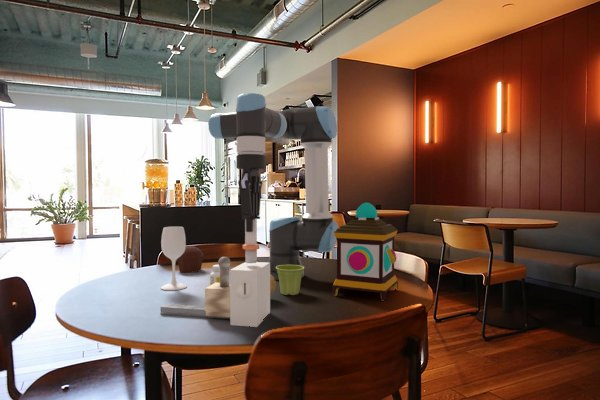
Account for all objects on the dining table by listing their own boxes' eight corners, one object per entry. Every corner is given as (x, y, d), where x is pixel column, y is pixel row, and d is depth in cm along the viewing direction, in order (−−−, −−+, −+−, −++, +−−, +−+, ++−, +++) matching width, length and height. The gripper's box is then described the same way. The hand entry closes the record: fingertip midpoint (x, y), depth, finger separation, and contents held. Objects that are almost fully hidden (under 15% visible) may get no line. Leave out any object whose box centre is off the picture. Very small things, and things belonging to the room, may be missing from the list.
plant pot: (290, 288, 142) (290, 263, 142) (310, 293, 135) (310, 267, 135) (269, 293, 135) (269, 266, 135) (289, 298, 129) (289, 271, 128)
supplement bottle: (230, 294, 134) (230, 264, 133) (222, 298, 129) (221, 267, 128) (215, 293, 135) (215, 263, 135) (207, 297, 130) (206, 266, 130)
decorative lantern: (347, 283, 149) (348, 201, 149) (402, 289, 141) (403, 202, 140) (326, 296, 131) (327, 202, 131) (388, 304, 123) (389, 203, 122)
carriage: (205, 316, 108) (204, 258, 107) (215, 308, 114) (215, 254, 114) (233, 318, 106) (233, 259, 106) (243, 310, 113) (243, 255, 112)
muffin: (199, 273, 166) (199, 249, 166) (172, 273, 167) (172, 248, 166) (206, 267, 178) (206, 245, 178) (181, 267, 179) (181, 244, 178)
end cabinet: (229, 326, 103) (229, 270, 102) (246, 311, 115) (246, 261, 115) (255, 328, 101) (255, 271, 101) (270, 312, 114) (270, 262, 113)
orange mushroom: (240, 263, 107) (240, 245, 106) (245, 260, 111) (245, 243, 111) (256, 264, 106) (256, 246, 106) (261, 261, 110) (261, 244, 110)
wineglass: (179, 291, 137) (178, 228, 137) (155, 290, 139) (155, 228, 139) (191, 285, 146) (190, 226, 145) (168, 284, 148) (168, 225, 147)
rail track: (160, 314, 112) (160, 306, 112) (166, 311, 115) (166, 303, 115) (236, 319, 108) (236, 311, 108) (240, 316, 111) (240, 308, 111)
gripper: (245, 156, 115) (245, 240, 115) (228, 152, 102) (228, 247, 102) (271, 156, 113) (271, 241, 114) (257, 151, 100) (257, 247, 101)
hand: (250, 243), depth 108 cm, fingers closed
